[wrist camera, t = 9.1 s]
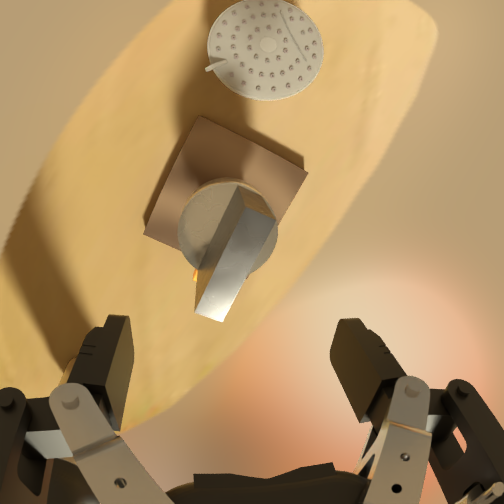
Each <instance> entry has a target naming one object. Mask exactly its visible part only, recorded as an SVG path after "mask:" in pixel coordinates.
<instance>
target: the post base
mask: <svg viewBox="0 0 504 504" xmlns="http://www.w3.org/2000/svg"><path fill="white" fill-rule="evenodd" d="M307 174H308V172H306V171H305V170H303V169H301V168H299V167H298V166H296V165H294V164H292V163H291V162H289V161H287V160H285V159H283V158H282V157H280V156H278V155H276V154H274V153H272V152H271V151H269V150H267V149H265V148H263V147H261V146H259V145H257V144H256V143H254V142H252V141H250V140H248V139H246V138H244V137H242V136H240V135H238V134H236V133H234V132H232V131H230V130H228V129H226V128H224V127H222V126H220V125H218V124H216V123H214V122H212V121H210V120H208V119H205V118H203V117H201V116H198V118H197V120H196V121H195V123H194V125H193V127H192V129H191V131H190V133H189V135H188V137H187V139H186V141H185V143H184V145H183V147H182V149H181V151H180V153H179V155H178V157H177V159H176V161H175V163H174V165H173V167H172V170H171V172H170V174H169V176H168V178H167V180H166V182H165V185H164V187H163V189H162V191H161V193H160V196H159V198H158V200H157V202H156V205H155V207H154V209H153V212H152V214H151V216H150V219H149V221H148V223H147V226H146V228H145V231H144V233H143V234H144V235H146V236H148V237H151V238H153V239H155V240H157V241H159V242H162V243H164V244H166V245H169V246H171V247H173V248H175V249H178V250H180V251H181V248H180V246H179V241H178V224H179V220H180V216H181V213H182V210H183V207H184V205H185V203H186V201H187V199H188V198H189V196H190V195H191V194H192V193H193V192H194V191H195V190H196V189H197V188H198V187H199V186H201V185H203V184H204V183H206V182H208V181H211V180H214V179H218V178H236V179H240V180H243V181H246V182H248V183H250V184H251V185H253V186H254V187H256V188H257V189H258V190H259V191H260V192H261V193H262V194H263V196H264V197H265V198H266V200H267V202H268V203H269V205H270V206H271V208H272V210H273V211H274V214H275V216H276V220H277V225H279V223H280V221H281V219H282V218H283V216H284V214H285V213H286V211H287V209H288V207H289V206H290V204H291V202H292V200H293V199H294V197H295V195H296V194H297V192H298V190H299V188H300V187H301V185H302V183H303V181H304V180H305V178H306V176H307ZM248 276H249V274H248V275H247V277H246V279H247V278H248Z"/></svg>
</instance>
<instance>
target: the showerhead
mask: <svg viewBox="0 0 504 504" xmlns="http://www.w3.org/2000/svg"><path fill="white" fill-rule="evenodd" d="M207 51H208V57H209V61H210V64H211V65H209V66H208V67H206V68H205V70H206V72H208V71H211V70H213V71H214V73H215V74H216V76H217V77H218V78H219V80H220V81H221V82H222V83H223V84H224V85H225V86H226V87H227V88H229V89H230V90H232V91H233V92H235V93H237V94H239V95H241V96H243V97H246V98H250V99H254V100H260V101H273V100H280V99H284V98H288V97H291V96H293V95H295V94H297V93H299V92H301V91H302V90H304V89H305V88H306V87H308V86H309V85H310V84H311V83H312V82H313V80H314V79H315V78H316V76H317V74H318V73H319V71H320V68H321V65H322V62H323V55H324V48H323V42H322V38H321V35H320V32H319V30H318V28H317V27H316V25H315V24H314V22H313V21H312V20H311V18H310V17H309V16H308V15H307V14H306V13H305V12H303V11H302V10H301V9H299V8H298V7H296V6H294V5H293V4H290V3H288V2H286V1H283V0H243V1H240V2H237V3H235V4H233V5H232V6H230V7H228V8H227V9H226V10H225V11H223V12H222V13H221V14H220V15H219V16H218V18H217V19H216V20H215V22H214V23H213V25H212V27H211V29H210V32H209V36H208V41H207Z"/></svg>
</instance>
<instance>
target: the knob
mask: <svg viewBox="0 0 504 504" xmlns="http://www.w3.org/2000/svg"><path fill="white" fill-rule="evenodd" d="M277 236H278V225H277V220H276V216H275V214H274V211H273V210H272V208H271V206H270V205H269V203H268V202H267V200H266V198H265V197H264V196H263V194H262V193H261V192H260V191H259V190H258V189H257V188H256V187H254V186H253V185H251V184H250V183H248V182H246V181H243V180H240V179H236V178H218V179H214V180H211V181H208V182H206V183H204V184H203V185H201V186H199V187H198V188H197V189H196V190H195V191H194V192H193V193H192V194H191V195H190V196H189V198H188V199H187V201H186V203H185V205H184V207H183V210H182V213H181V216H180V220H179V224H178V241H179V246H180V248H181V251H182V253H183V255H184V256H185V258H186V259H187V260H188V262H189V263H190V264H191V265H192V266H193V267H195V268H196V269H195V271H194V274H193V280H194V281H196V282H197V283H196V297H195V312H194V313H197V314H200V315H203V316H206V317H209V318H212V319H214V320H217V321H220V322H223V320H224V318H225V316H226V314H227V312H228V311H229V309H230V307H231V305H232V303H233V301H234V299H235V297H236V296H237V294H238V292H239V290H240V288H241V286H242V284H243V283H244V281H245V279H246V277H247V275H248V274H250V273H252V272H254V271H255V270H257V269H258V268H260V267H261V266H262V265H263V264H264V263H265V262H266V261H267V260H268V258H269V257H270V255H271V254H272V252H273V250H274V248H275V245H276V242H277Z"/></svg>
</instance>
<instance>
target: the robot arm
mask: <svg viewBox="0 0 504 504" xmlns="http://www.w3.org/2000/svg"><path fill="white" fill-rule="evenodd" d="M330 361H331V364H332V366H333V368H334V370H335V372H336V374H337V377H338V379H339V381H340V383H341V385H342V387H343V389H344V391H345V393H346V395H347V398H348V400H349V402H350V404H351V406H352V408H353V410H354V412H355V414H356V417H357V419H358V421H359V423H364V422H369V421H371V423H372V427H371V429H370V430H369V433H368V436H367V439H366V442H365V445H364V447H363V450H362V453H361V455H360V458H359V460H358V463H357V465H356V467H355V469H354V471H353V473H349V472H345V471H335V468H334V465H333V463H332V462H331V463H326V464H319V465H313V466H307V467H300V468H298V469H295V470H292V471H290V472H287V473H284V474H281V475H278V476H275V477H272V478H268V479H263V478H254V477H248V476H241V475H235V474H193V475H194V482H192V483H187V484H184V485H181V486H177V487H175V488H173V489H171V490H169V491H167V492H164V491H163V490H162V489H161V488H160V487H159V486H158V484H157V483H156V482H155V481H154V479H153V478H152V477H151V476H150V475H149V473H148V472H147V471H146V470H145V468H144V467H143V466H142V465H141V463H140V462H139V461H138V459H137V458H136V457H135V455H134V454H133V453H132V451H131V450H130V448H129V447H128V446H127V444H126V443H125V442H124V440H123V439H122V438H121V437H120V436H117V435H116V434H115V432H114V431H120V429H121V423H122V418H123V412H124V407H125V402H126V397H127V392H128V387H129V382H130V377H131V373H132V368H133V363H134V346H133V339H132V332H131V325H130V318H129V316H124V315H110V314H109V315H108V317H107V320H106V322H105V324H104V327H95V328H94V329H93V330H91V331H90V332H89V333H88V334H87V335H86V337H85V340H84V342H83V344H82V346H81V349H80V351H79V354H78V356H77V357H76V358H74V359H72V360H71V361H70V362H69V363H68V365H67V367H66V369H65V372H64V374H63V376H62V378H61V381H60V383H59V385H58V387H56V388H55V389H54V390H53V391H52V393H51V394H50V396H49V397H45V398H33V399H26V397H25V395H24V394H23V393H22V391H20V390H19V389H17V388H13V387H7V388H3V389H1V390H0V504H419V501H420V497H421V492H422V488H423V483H424V479H425V474H426V469H427V463H428V461H429V463H430V465H431V467H432V469H433V471H434V473H435V476H436V478H437V480H438V482H439V484H440V486H441V489H442V491H443V493H444V495H445V498H446V500H447V502H448V504H504V430H503V428H502V427H501V425H500V424H499V422H498V421H497V419H496V418H495V416H494V415H493V413H492V412H491V411H490V409H489V408H488V406H487V405H486V403H485V402H484V401H483V399H482V398H481V396H480V395H479V394H478V392H477V391H476V389H475V388H474V387H473V386H472V385H471V384H470V383H468V382H467V381H464V380H461V379H455V380H452V381H450V382H449V384H448V386H447V387H446V389H429V387H428V385H427V384H426V383H425V382H424V381H422V380H421V379H419V378H417V377H413V376H407V375H406V373H405V372H404V370H403V369H402V368H401V366H400V365H399V363H398V362H397V360H396V359H395V357H394V356H393V354H391V353H390V350H389V349H388V347H386V345H385V343H384V342H383V340H382V339H381V338H380V336H378V335H377V334H376V333H374V332H373V331H372V330H367V328H366V327H365V325H364V324H363V322H362V321H361V320H360V319H359V318H350V319H340V320H339V322H338V325H337V328H336V332H335V335H334V339H333V342H332V345H331V349H330ZM456 427H458V429H459V430H460V432H461V433H462V435H463V437H464V439H465V441H466V444H467V448H466V451H465V453H464V452H463V450H462V449H461V447H460V445H459V443H458V441H457V439H456V438H455V436H454V434H453V431H454V430H455V428H456Z"/></svg>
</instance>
